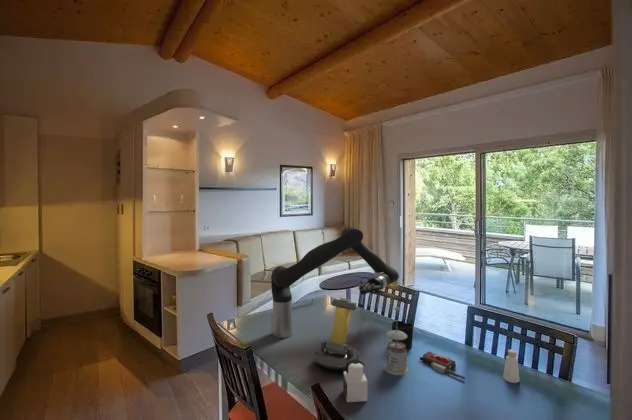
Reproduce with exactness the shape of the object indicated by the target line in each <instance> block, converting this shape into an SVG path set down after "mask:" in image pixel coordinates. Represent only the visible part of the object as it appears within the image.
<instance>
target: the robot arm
mask: <svg viewBox="0 0 632 420" xmlns="http://www.w3.org/2000/svg"><path fill="white" fill-rule="evenodd" d="M363 238H364V233H363V231H362V229H359V228H357V227H346V228H344V229H343V230H342V231H341V234H340V236H339V237H337V238H336V239H333V240H330V241H327V242H324V243H322V244H319V245H317V246H316V247H314V248H312V249H311V250H309V251H308V252H307V253H306V254H305V255H304V256H303V257H302V258H300V260H299V261H298V262H297V263H295V264H292V265H291V266H288V267H285V266H283V265H282V266H281V265H280V266H277V267H275V268H274V269H273V270H272V272H271V278H270V283H271V285H270V286H271V296H272V314H271V317H270V318H271V319H270V320H271V321H270V323H271V329H270V331H271V333H270V334H271V335H272V336H273V337H275V338H277V339H278V338H279V339H285V338H286V339H287V338H288V337H291V336H292V334H293V319H292V318H293V314H292V313H293V305H292V301H293V298H292V297H293V294H292V292H291V288H290V286H292V285H293V284H294V283H295V282H298V280H300V279H301V278H302V277H304V276H306V275H307V274H309V273H311V272H312V271H314V270H316V269H317V268H320V267H322V266H323V265H325V264H326V263H328V262H330V261H331V260H333V259H334V258H336V257H337V256H339V255H340V254H342V253H343V252H346V250H349V249H352V250H353V251H354V252H356V253H357V254H358V255H359V256H360V257H361V258H362V259H363V261H365V262H366V264H367V265H368V266H369V267H370V268H371V269H372V270H373V272H375V273H376V274H378V275H375V276H373V277H371V278H370V279H368V280H367V281H366V283H358V290H359V291H360V294H361V295H367V294H371V295H372V294H380V293H383V290H384V289H385V288H387V287H388V286H389V285H391V284H393V283H395V282H396V281H398V280H399V278H400V275H399V273H398V271H397V270H396V269H395V268H394V267H392V266H391V265H389V264H387V263H386V262H384V260H382V258H381V257H380V256H379V255H378V254H377V253H376V252H374V251H373V250H372V249H370V248H369V247H368V246H367V245H366V244H365V243H364V242H363Z"/></svg>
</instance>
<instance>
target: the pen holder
mask: <svg viewBox="0 0 632 420" xmlns="http://www.w3.org/2000/svg"><path fill="white" fill-rule="evenodd" d="M393 330H398V331H402V332H404V333H405V334H406V335H407V338H406V339H405V340H397V342H401V343H404V344H405V345H406V347H405V348H406V350H411V348H412V347H413V335H414V334H413V333H414V324H413V323H408V322H404V321H403V320H395V321H392V323H391V331H393ZM391 340H392V341H396V340H393V339H391ZM392 341H391V342H392ZM402 350H403V351H405V350H404V349H402Z"/></svg>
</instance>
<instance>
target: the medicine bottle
mask: <svg viewBox="0 0 632 420" xmlns="http://www.w3.org/2000/svg"><path fill="white" fill-rule="evenodd" d="M342 377H343V382H342V383H343V385H342V389H343V393H344V398H345V401H346V402H347V403H357V402H367V401H368V379H367V377H366V375H365V363H364V361H362V360H360V359H359V360H349V361H348V362H347V363H346V371H344V372H343V374H342Z"/></svg>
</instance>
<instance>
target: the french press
mask: <svg viewBox="0 0 632 420" xmlns="http://www.w3.org/2000/svg"><path fill="white" fill-rule="evenodd" d="M394 311H396V312H399V311H401V310H400V307H398V306H395V307H394ZM386 337H387V341H385V339H386ZM406 338H407V335H406V334H405V333H404V332H402V331H398V330H393V331H392V330H390V331H388V332H387V333H386V335H385V336H384V340H383V345H384V349H385V352H386V363H385V364H384V366H383V370H384V371H385V372H386V373H387V374H390V375H393V376H404V375H407V374H408V373H409V372H410V369H409V367H408V365H407V362H408V361H407V359H408V358H407V357H408V356H407V355H408V354H407V353H408V351H407V350H406V348H405V347H406V345H405V344H404V343H401V342H397V340H405V339H406ZM392 339H393V340H396V341H389V340H392ZM385 343H386V344H387V346H386V344H385ZM402 349H404V350H402Z"/></svg>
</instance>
